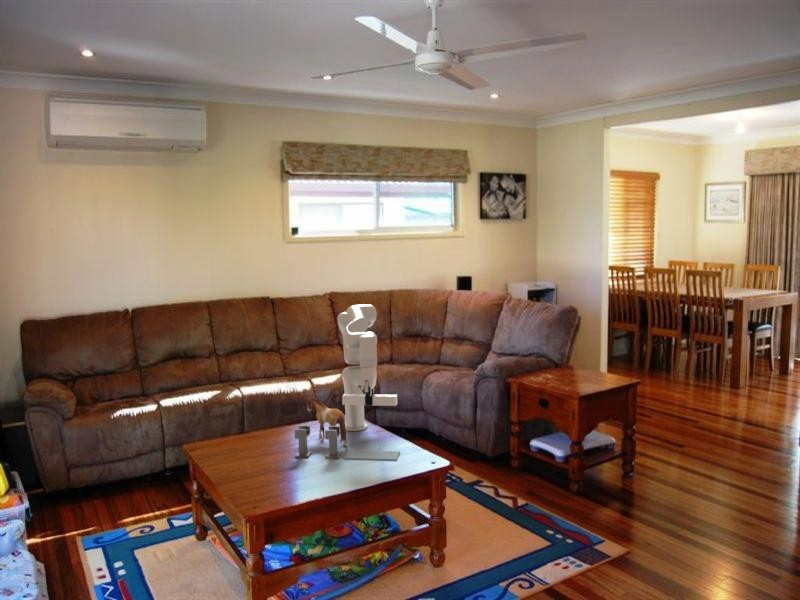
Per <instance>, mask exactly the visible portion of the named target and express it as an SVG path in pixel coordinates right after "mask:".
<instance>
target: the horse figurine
mask: <svg viewBox="0 0 800 600" xmlns="http://www.w3.org/2000/svg"><path fill="white" fill-rule="evenodd" d="M305 399H306V405H307V407H306V408H307V411H308V412H311V411H312V409H313V407H315V410H316V415H315V417H316V420H317V421H318V423H319V430H318V432H319V433H318V434H319V435H318V438H320V442H324V441H325V426H324V425H325V423H328V425H329V426H337V425H339V426H340V441H339V443H342V442H343V441H344V442H343V444H342V446H343V447H347V446H348V440H347V435H348V434H347V432H348V431H347V430H346V426H345V424H346V416H345V414H344V413H343V411H342V410H340V409H338V408H330V407H327V406H326V405H325V404H324V403H323V402H322V401H320V400H319V399H318V398H316V397H312V396H310V397H309V396H307V397H305Z"/></svg>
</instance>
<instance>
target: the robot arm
mask: <svg viewBox="0 0 800 600" xmlns="http://www.w3.org/2000/svg"><path fill="white" fill-rule="evenodd" d="M376 320H377V309H376V307H375V306H374V305H373V304H369V303H368V304H354V305H350V306H348V308H346V311H344V312H340V313H339V314H338V316H337V325H338V327H339V331H340V333H341V336H342V344H343V345H342V346H343V359H344V361H345V363H346V364H349V365H356V366H347V367H345V368H343V370H342V372H341V377H342V384H343V390H344V394H365V405H344V409H345V414H344V416H345V426H346V431H347V432H348V431H349V432H358V431H363V430H366V429H368V427H369V426H368V423H367V422H365V406H373V405H372V396H371V395H372V394H375V386H376V384H377V378H378V375H377V374H378V372H377V371H378V370H377V367H378V350H377V344H378V336H377V334H376V333H375V332H373V331H367V330H368V328H371V327H372V326H373V325H374V324H375V322H376ZM357 364H359V365H357ZM359 386H360V387H359ZM363 390H364V392H363Z"/></svg>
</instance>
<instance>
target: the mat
mask: <svg viewBox="0 0 800 600" xmlns="http://www.w3.org/2000/svg"><path fill="white" fill-rule="evenodd" d="M400 454H401V451H396V450H395V451H392V450H385V451H384V450H357V449H356V450H349V449H348V450H347V451H346V452H345V454H344V455H343V456H342V460H361V461H362V460H365V461H366V460H367V461H392V460H393V461H397V460H398V458H399V456H400Z"/></svg>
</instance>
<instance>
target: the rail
mask: <svg viewBox="0 0 800 600" xmlns="http://www.w3.org/2000/svg"><path fill="white" fill-rule="evenodd" d="M371 396H372V405H371V406H387V407H388V406H391V407H397V405H398V394H386V393H385V394H384V393H383V394H379V393H378V394H377V393H376V394H375V393H374V394H372V395H371ZM341 398H342V399H341V401H342V406H345V405H364V406H366V405H365V393H363V394H345V393H343V394H342V396H341Z"/></svg>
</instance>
